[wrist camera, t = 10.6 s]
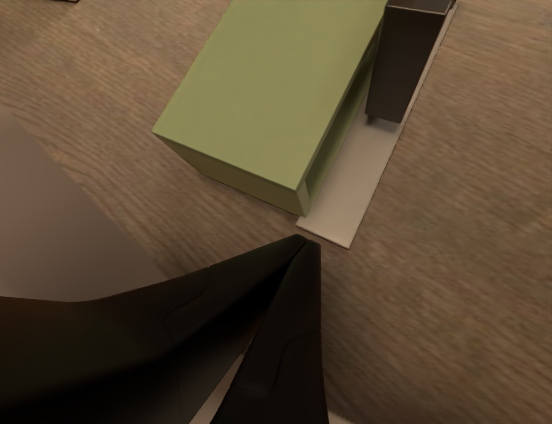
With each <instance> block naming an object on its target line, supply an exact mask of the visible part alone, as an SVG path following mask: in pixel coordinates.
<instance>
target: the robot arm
mask: <svg viewBox="0 0 552 424" xmlns="http://www.w3.org/2000/svg"><path fill="white" fill-rule="evenodd" d="M255 333H256V334H255ZM254 335H255V336H254ZM253 336H254V338H253ZM252 338H253V340H252V342H251V344H250V346H249V348H248V350H247V352H246V354H245V356H244V358H243V360H242V362H241V364H240V367H239V369H238V371H237V373H236V375H235V377H234V379H233V381H232V383H231V385H230V388H229V389H228V391H227V393H226V395H225V397H224V399H223V401H222V403H221V405H220V407H219V408H218V410H217V412H216V414H215V415H214V417H213V419H212V421H211V422H210V424H329V419H328V411H327V404H326V396H325V388H324V378H323V369H322V348H321V245H320V244H319V243H317V242H314V241H312V240H308V239H307V238H306V237H304V236H301V235H299V234H295V235H292V236H289V237H287V238H284V239H281V240H279V241H276V242H273V243H270V244H268V245H265V246H262V247H260V248H257V249H254V250H252V251H249V252H246V253H244V254H241V255H238V256H236V257H233V258H230V259H227V260H225V261H222V262H219V263H217V264H214V265H211V266H210V267H209V268H208V267H206V268H203V269H200V270H198V271H195V272H192V273H189V274H186V275H183V276H180V277H177V278H174V279H170V280H167V281H164V282H160V283H157V284H153V285H149V286H146V287H143V288H138V289H135V290H131V291H127V292H124V293H120V294H116V295H112V296H109V297H105V298H100V299H96V300H90V301H81V302H60V301H48V300H37V299H26V298H14V297H13V298H12V297H2V296H0V424H189V423H190V422H191V420H192V419H193V417H194V416H195V415H196V413H197V412H198V411H199V409H200V408H201V406H202V405H203V404H204V403H205V401H206V400H207V399H208V397H209V396H210V394H211V393H212V392H213V390H214V389H215V388H216V386H217V385H218V384H219V382H220V381H221V380H222V378H223V377H224V375H225V374H226V373H227V371H228V370H229V369H230V367H231V366H232V365H233V363H234V362H235V360H236V359H237V358H238V357H239V355H240V354H241V352H242V351H243V350H244V348H245V347H246V346H247V344H248V343H249V342H250V340H251V339H252Z"/></svg>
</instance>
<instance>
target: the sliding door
mask: <svg viewBox="0 0 552 424" xmlns="http://www.w3.org/2000/svg"><path fill="white" fill-rule="evenodd" d="M453 1H454V0H388V1H387V3H386V5H385V7H384V12H383V17H382V23H381V28H380V33H379V39H378V44H377V49H376V55H375V60H374V65H373V70H372V76H371V81H370V86H369V92H368V97H367V102H366V108H365V114H367V115H370V116H374V117H377V118H381V119H384V120H388V121H391V122H395V123H398V124H400V123H401V122H402V119H403V117H404V115H405V113H406V110H407V108H408V106H409V104H410V101H411V99H412V96H413V94H414V92H415V89H416V87H417V85H418V82H419V80H420V78H421V75H422V73H423V71H424V68H425V66H426V64H427V61H428V59H429V57H430V54H431V52H432V50H433V47H434V45H435V43H436V40H437V38H438V36H439V33H440V31H441V29H442V26H443V24H444V22H445V19H446V17H447V15H448V12H449V10H450V8H451V5H452V3H453Z"/></svg>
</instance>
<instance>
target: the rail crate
mask: <svg viewBox="0 0 552 424" xmlns="http://www.w3.org/2000/svg"><path fill="white" fill-rule="evenodd" d="M387 1H388V0H232V1H231V3H230V4H229V6H228V8H227V9H226V11H225V12H224V14H223V16H222V17H221V19H220V21H219V22H218V24H217V25H216V27H215V29H214V30H213V32H212V33H211V35H210V37H209V38H208V40H207V42H206V43H205V45H204V46H203V48H202V50H201V51H200V53H199V55H198V56H197V58H196V59H195V61H194V63H193V64H192V66H191V67H190V69H189V71H188V72H187V74H186V76H185V77H184V79H183V80H182V82H181V84H180V85H179V87H178V88H177V90H176V92H175V93H174V95H173V97H172V98H171V100H170V101H169V103H168V105H167V106H166V108H165V109H164V111H163V113H162V114H161V116H160V118H159V119H158V121H157V122H156V124H155V126H154V127H153V129H152V131H151V132H152V133H153V134H154V135H155V136H157V137H158V138H159V139H160V140H162V141H163V142H164V143H165V144H166V145H167V146H169V147H170V148H171V149H172V150H173V151H175V152H176V153H177V154H178V155H179V156H181V157H182V158H183V159H184V160H185V161H187V162H188V163H189V164H190V165H191V166H192V167H194V168H195V169H196V170H197V171H198V172H200V173H201V174H203V175H206V176H208V177H210V178H213V179H215V180H217V181H219V182H222V183H224V184H226V185H229V186H231V187H233V188H235V189H238V190H240V191H242V192H244V193H247V194H249V195H251V196H254V197H256V198H258V199H260V200H263V201H265V202H267V203H269V204H272V205H274V206H276V207H279V208H281V209H283V210H285V211H288V212H290V213H292V214H294V215H297V216H299V218H298V221H297V223H296V226H297V227H299V228H301V229H303V230H305V231H308V232H310V233H312V234H314V235H316V236H319V237H321V238H323V239H325V240H327V241H330V242H332V243H334V244H336V245H338V246H341V247H343V248H345V249H347V250H348V249H349V248H350V245H351V243H352V241H353V239H354V236H355V234H356V232H357V230H358V227H359V225H360V223H361V221H362V218H363V216H364V214H365V212H366V209H367V207H368V205H369V203H370V200H371V198H372V196H373V194H374V192H375V189H376V187H377V185H378V183H379V180H380V178H381V176H382V174H383V171H384V169H385V167H386V165H387V162H388V160H389V158H390V156H391V153H392V151H393V149H394V147H395V144H396V142H397V140H398V138H399V136H400V133H401V131H402V129H403V127H404V124H405V122H406V120H407V118H408V115H409V113H410V111H411V109H412V106H413V104H414V102H415V100H416V97H417V95H418V93H419V91H420V88H421V86H422V84H423V82H424V79H425V77H426V75H427V73H428V71H429V68H430V66H431V64H432V62H433V59H434V57H435V55H436V53H437V50H438V48H439V46H440V44H441V41H442V39H443V37H444V35H445V32H446V30H447V28H448V26H449V23H450V21H451V19H452V17H453V15H454V12H455V10H456V8H457V6H458V3H455V2H456V0H454V1H453V3H452V5H451V8H450V10H449V12H448V15H447V17H446V19H445V22H444V24H443V26H442V29H441V31H440V33H439V36H438V38H437V40H436V43H435V45H434V47H433V50H432V52H431V54H430V57H429V59H428V61H427V64H426V66H425V68H424V71H423V73H422V75H421V78H420V80H419V82H418V85H417V87H416V89H415V92H414V94H413V96H412V99H411V101H410V104H409V106H408V108H407V110H406V113H405V115H404V117H403V119H402V122H401V123H400V124H398V123H395V122H391V121H388V120H384V119H381V118H377V117H374V116H370V115H367V114H365V108H366V102H367V97H368V92H369V86H370V81H371V76H372V70H373V65H374V60H375V55H376V49H377V44H378V39H379V33H380V28H381V23H382V17H383V12H384V7H385V5H386V3H387Z"/></svg>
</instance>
